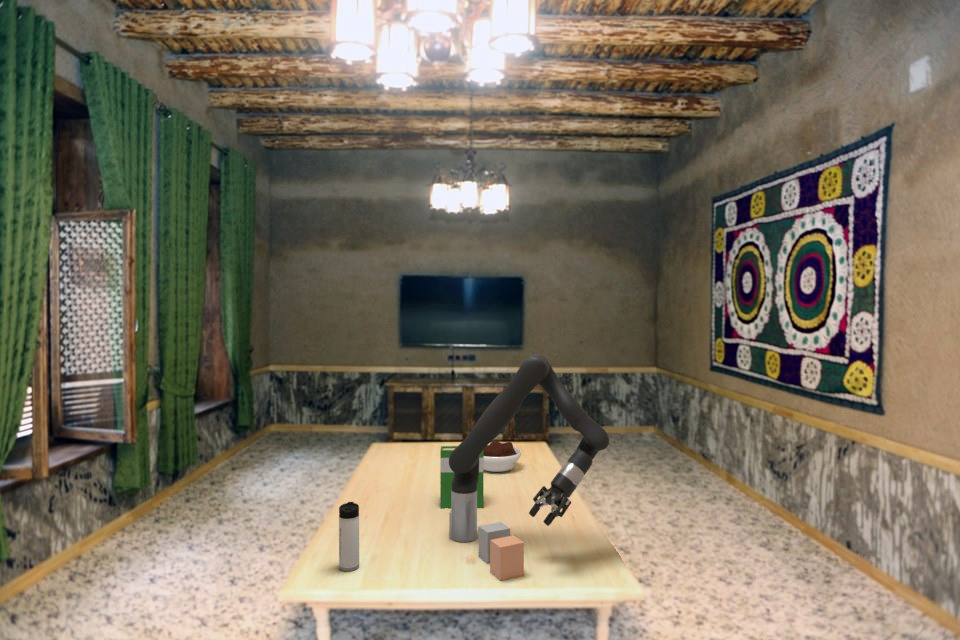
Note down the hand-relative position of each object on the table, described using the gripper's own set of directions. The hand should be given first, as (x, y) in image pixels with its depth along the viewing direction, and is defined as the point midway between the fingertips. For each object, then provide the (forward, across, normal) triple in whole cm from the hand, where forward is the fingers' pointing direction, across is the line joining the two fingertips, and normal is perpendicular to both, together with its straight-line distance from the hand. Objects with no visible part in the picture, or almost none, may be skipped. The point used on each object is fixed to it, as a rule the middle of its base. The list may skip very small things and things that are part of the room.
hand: (538, 519), depth 191 cm
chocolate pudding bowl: (-19, -103, +41) cm, 113 cm away
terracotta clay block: (+19, 0, +2) cm, 19 cm away
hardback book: (+8, -63, +13) cm, 65 cm away
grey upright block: (+17, -12, +4) cm, 21 cm away
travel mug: (+49, -27, -27) cm, 62 cm away
